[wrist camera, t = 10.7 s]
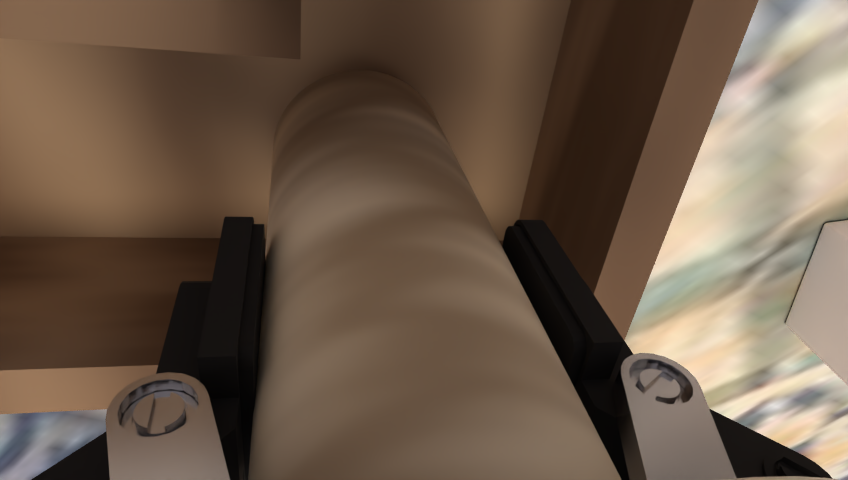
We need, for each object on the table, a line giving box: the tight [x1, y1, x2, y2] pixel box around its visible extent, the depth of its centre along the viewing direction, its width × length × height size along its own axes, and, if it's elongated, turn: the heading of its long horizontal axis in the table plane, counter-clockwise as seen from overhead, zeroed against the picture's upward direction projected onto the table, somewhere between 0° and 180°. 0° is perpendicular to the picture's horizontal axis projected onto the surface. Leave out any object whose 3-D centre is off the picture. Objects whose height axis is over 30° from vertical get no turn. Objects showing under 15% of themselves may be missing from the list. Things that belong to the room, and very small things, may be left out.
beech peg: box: [248, 70, 621, 480], centre depth 12 cm, size 5×5×15 cm
